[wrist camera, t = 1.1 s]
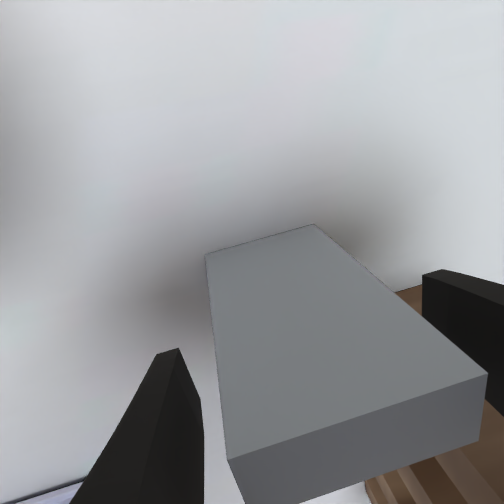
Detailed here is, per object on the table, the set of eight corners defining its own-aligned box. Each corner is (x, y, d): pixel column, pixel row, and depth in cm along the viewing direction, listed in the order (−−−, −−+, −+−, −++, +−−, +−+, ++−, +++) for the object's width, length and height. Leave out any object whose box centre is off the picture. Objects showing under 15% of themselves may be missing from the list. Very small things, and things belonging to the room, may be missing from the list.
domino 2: (433, 311, 17) (648, 483, 9) (348, 337, 17) (495, 541, 9) (433, 280, 16) (672, 440, 8) (344, 307, 16) (503, 502, 8)
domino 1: (319, 262, 15) (478, 440, 7) (217, 292, 14) (252, 519, 6) (313, 223, 14) (487, 373, 6) (204, 254, 14) (227, 459, 5)
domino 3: (430, 375, 19) (604, 561, 11) (355, 400, 19) (479, 611, 11) (431, 351, 19) (620, 533, 10) (353, 376, 18) (484, 586, 10)
